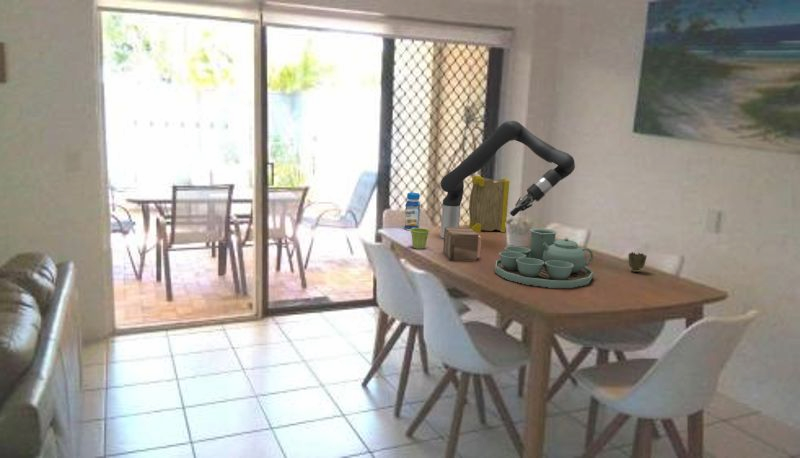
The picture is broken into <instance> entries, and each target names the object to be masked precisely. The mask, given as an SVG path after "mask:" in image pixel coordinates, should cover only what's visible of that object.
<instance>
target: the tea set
mask: <svg viewBox="0 0 800 458" xmlns="http://www.w3.org/2000/svg"><path fill="white" fill-rule="evenodd" d="M529 231H530V240H529V241H530V244H529V248H527V247H525V246H519V245H518V246H515V245H512V246H506V247H504V251H501V252H499V253H498V256H499V259H498V260H496V261H495V266H494V271H495V272H494V273H495V274H497V275H498V276H499V277H502V279H504V278H505V279H504V280H506V279H507V281H510V282H513V281H514V282H513V283H517V282H518V283H517V284H520V283H522V284H521V285H524V284H526V285H525V286H529V285H533V286H532V287H537V286H541V287H540V288H545V287H548V288H547V289H575V288H579V287H578V286H580V287H584V286H588V285H589V283H590V282H591V280H592V279H593V278H594V271H593V270H591V269H590V268H589V267H587V266H588V265H590V264H591V263H592V261H593V259H594V252H593V251H592V249H590V248H589V247H582V248H581V247H579V246H578V243H577V242H576V241H574V240H571V239H569V238H566V237H565V238H563V239H557V240H556V235H557V234H558V231H557V230H554V229H550V228H536V227H535V228H531V229H530V230H529ZM585 251H587V252H589V255H590V258H589V260H588V261H587V255H586V253H585ZM587 284H588V285H587ZM583 285H584V286H583ZM574 287H575V288H574Z"/></svg>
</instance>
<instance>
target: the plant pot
mask: <svg viewBox="0 0 800 458" xmlns="http://www.w3.org/2000/svg"><path fill="white" fill-rule="evenodd" d="M409 231H410V233H411V242H412V248H414V249H417V250H422V249H425V248H426V245H427V240H428V236H429V234H430V229H428V228H422V227H419V228H412V229H410V230H409Z"/></svg>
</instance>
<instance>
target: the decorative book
mask: <svg viewBox="0 0 800 458" xmlns="http://www.w3.org/2000/svg"><path fill="white" fill-rule="evenodd" d="M471 182H472V183H471V184H472V187H471V191H470V195H469V203H468V204H469V205H468V211H469V225H468V226H469V227H468V228H471V229H472V230H473V231H475V232H476V233H481V232H482V231H489V232H492V231H494V230H497V231H500V233H505V232H506V229H505V222H506V223H507V217H508V203H509V202H508V201H509V193H510V192H509V190H510V180H509V179H507V178H503V177H501V178H500V179H496V180H494V179H492V178H485V177H482V176H481V175H472V181H471Z"/></svg>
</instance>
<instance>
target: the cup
mask: <svg viewBox="0 0 800 458" xmlns="http://www.w3.org/2000/svg"><path fill="white" fill-rule="evenodd" d="M647 257H648V255H647V254H644V253H641V252H638V253H637V254H636V253H635V252H633V251H631V252H629V253H628V266H629V268H631V269H630V270H631V272H632V271H634V272H633V273H635V272H639V273H640V272H641V270H642V269H643V268H644V267H645V264H646V262H647Z"/></svg>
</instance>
